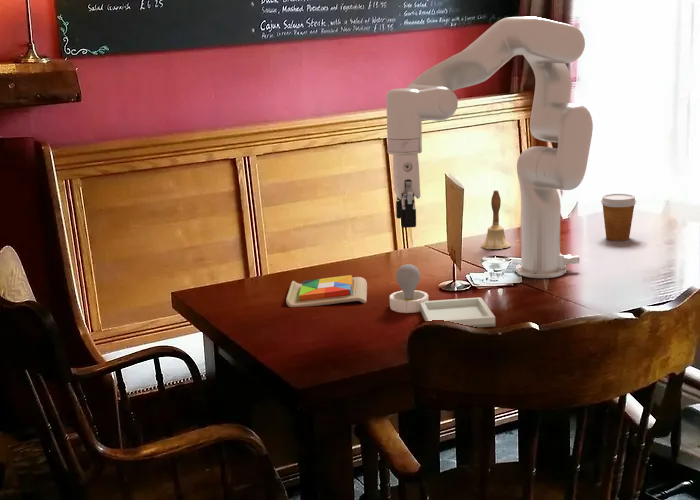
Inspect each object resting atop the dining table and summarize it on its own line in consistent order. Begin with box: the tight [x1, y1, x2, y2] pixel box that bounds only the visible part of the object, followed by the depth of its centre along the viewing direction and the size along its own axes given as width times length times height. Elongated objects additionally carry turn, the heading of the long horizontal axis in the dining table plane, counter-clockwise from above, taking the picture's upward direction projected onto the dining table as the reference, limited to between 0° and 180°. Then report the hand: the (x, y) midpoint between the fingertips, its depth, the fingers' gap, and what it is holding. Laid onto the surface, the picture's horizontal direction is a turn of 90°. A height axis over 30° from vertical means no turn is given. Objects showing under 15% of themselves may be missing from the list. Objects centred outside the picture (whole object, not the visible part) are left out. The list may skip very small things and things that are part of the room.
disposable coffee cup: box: [600, 193, 637, 242], centre depth 251 cm, size 10×10×12 cm
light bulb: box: [395, 263, 421, 301], centre depth 201 cm, size 5×5×10 cm
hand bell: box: [480, 190, 511, 251], centre depth 249 cm, size 8×8×16 cm
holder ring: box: [389, 289, 430, 314], centre depth 202 cm, size 9×9×3 cm
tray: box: [419, 296, 496, 328], centre depth 193 cm, size 14×14×2 cm
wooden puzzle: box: [285, 274, 368, 308], centre depth 215 cm, size 18×19×4 cm
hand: (406, 222), depth 198 cm, fingers open, 9 cm apart
